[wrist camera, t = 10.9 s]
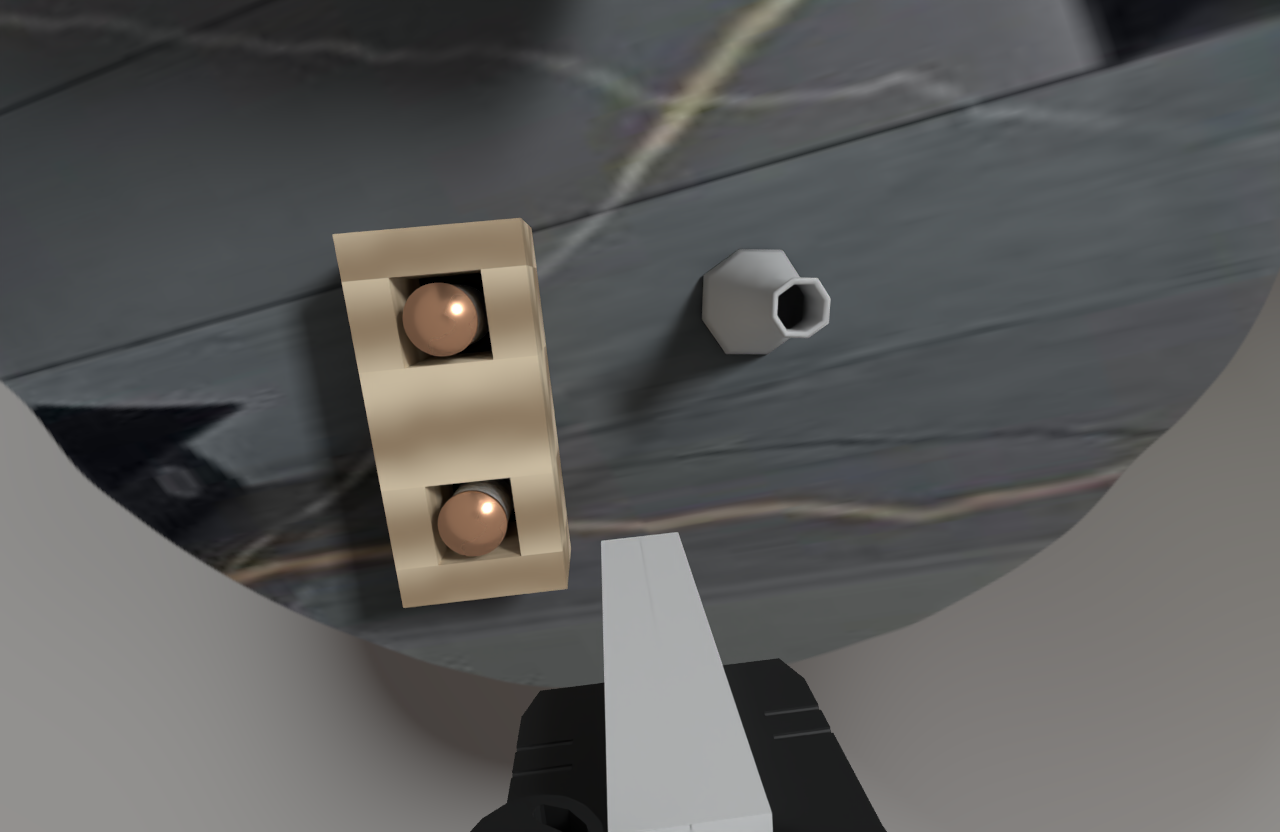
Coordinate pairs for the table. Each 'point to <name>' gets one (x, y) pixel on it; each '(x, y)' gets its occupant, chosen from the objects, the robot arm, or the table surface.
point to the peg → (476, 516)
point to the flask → (761, 302)
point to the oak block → (458, 408)
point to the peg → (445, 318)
